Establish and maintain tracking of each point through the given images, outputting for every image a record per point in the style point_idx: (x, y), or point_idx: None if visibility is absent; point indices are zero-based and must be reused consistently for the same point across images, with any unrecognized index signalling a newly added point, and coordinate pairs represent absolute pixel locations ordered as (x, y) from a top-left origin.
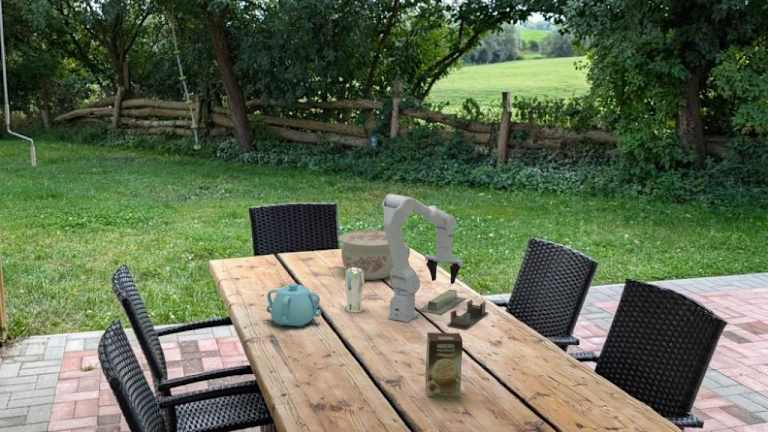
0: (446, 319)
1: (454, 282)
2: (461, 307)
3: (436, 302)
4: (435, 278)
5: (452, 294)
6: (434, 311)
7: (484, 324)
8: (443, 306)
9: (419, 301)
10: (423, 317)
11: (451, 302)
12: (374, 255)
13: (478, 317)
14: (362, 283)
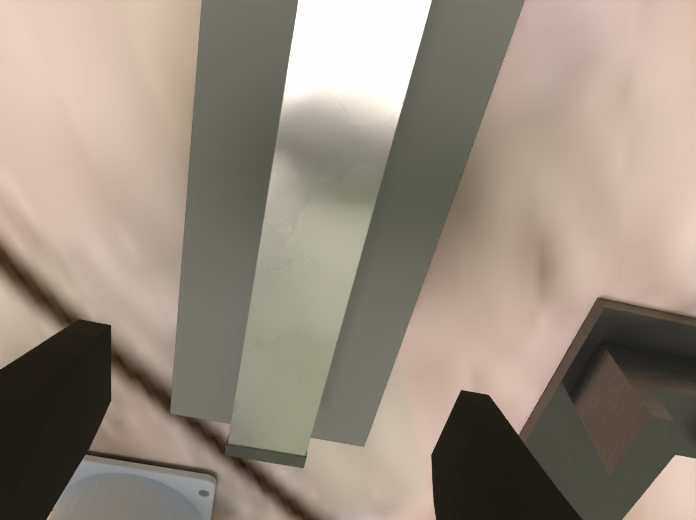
0: (417, 492)
1: (491, 410)
2: (512, 230)
3: (301, 452)
4: (97, 361)
5: (402, 96)
6: None
7: (677, 509)
8: None
9: (48, 170)
10: (259, 495)
11: (395, 142)
12: None
13: (655, 455)
14: None
